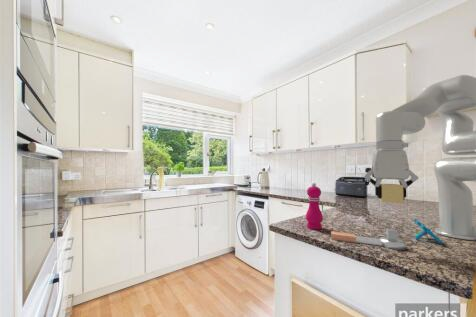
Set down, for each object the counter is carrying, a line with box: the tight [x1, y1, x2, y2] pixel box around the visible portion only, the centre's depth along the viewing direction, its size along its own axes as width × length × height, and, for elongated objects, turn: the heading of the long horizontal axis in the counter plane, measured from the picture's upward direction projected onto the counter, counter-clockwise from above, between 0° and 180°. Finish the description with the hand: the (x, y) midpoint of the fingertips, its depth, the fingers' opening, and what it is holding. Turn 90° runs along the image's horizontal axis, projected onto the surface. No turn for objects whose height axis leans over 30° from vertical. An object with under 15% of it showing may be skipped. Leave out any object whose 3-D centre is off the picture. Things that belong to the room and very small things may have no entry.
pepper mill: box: [305, 182, 324, 231], centre depth 90 cm, size 7×7×20 cm
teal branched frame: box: [413, 218, 443, 244], centre depth 76 cm, size 11×6×10 cm
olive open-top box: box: [378, 183, 405, 204], centre depth 70 cm, size 6×6×6 cm
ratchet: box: [330, 227, 406, 251], centre depth 73 cm, size 22×7×6 cm, turn 66°
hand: (390, 198), depth 70 cm, fingers closed on olive open-top box, 5 cm apart
